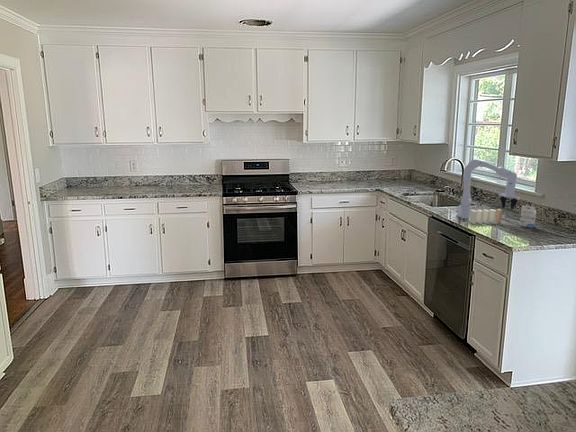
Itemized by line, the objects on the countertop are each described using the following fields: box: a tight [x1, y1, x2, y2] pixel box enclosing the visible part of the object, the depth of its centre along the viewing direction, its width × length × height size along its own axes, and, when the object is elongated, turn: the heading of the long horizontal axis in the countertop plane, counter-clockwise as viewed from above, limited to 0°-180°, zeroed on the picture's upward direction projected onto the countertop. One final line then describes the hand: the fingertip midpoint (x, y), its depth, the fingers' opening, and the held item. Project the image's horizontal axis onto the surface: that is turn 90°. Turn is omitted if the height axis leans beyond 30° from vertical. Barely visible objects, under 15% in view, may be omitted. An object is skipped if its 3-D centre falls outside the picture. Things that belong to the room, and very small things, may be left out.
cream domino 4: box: [489, 208, 497, 223], centre depth 299 cm, size 5×2×9 cm, turn 10°
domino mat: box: [464, 219, 510, 226], centre depth 301 cm, size 12×29×1 cm, turn 99°
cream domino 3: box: [482, 208, 490, 225], centre depth 298 cm, size 5×2×9 cm, turn 10°
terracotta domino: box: [496, 208, 503, 223], centre depth 300 cm, size 5×2×9 cm, turn 172°
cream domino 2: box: [476, 209, 484, 225], centre depth 297 cm, size 5×2×9 cm, turn 10°
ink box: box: [518, 205, 537, 229], centre depth 290 cm, size 8×5×15 cm, turn 47°
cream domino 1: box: [469, 209, 477, 225], centre depth 296 cm, size 5×2×9 cm, turn 10°
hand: (507, 208), depth 299 cm, fingers open, 6 cm apart
